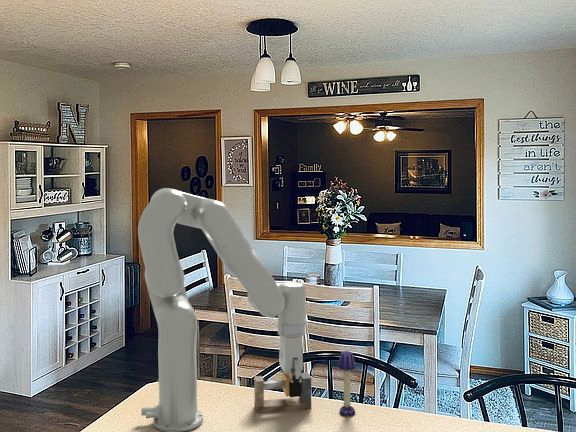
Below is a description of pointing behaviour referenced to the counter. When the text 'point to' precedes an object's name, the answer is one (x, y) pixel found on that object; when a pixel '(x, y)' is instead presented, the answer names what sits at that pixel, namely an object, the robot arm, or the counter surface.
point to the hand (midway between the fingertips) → (291, 389)
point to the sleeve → (286, 383)
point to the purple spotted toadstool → (346, 381)
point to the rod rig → (281, 404)
